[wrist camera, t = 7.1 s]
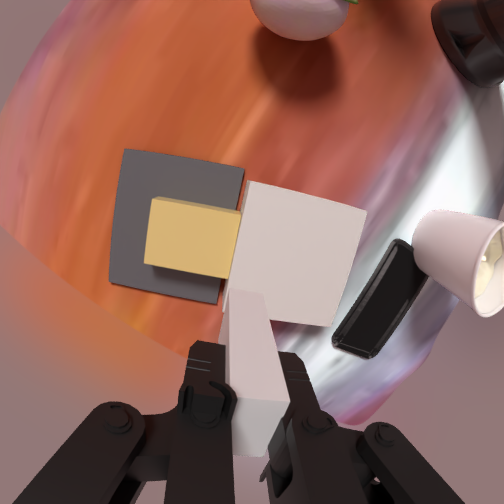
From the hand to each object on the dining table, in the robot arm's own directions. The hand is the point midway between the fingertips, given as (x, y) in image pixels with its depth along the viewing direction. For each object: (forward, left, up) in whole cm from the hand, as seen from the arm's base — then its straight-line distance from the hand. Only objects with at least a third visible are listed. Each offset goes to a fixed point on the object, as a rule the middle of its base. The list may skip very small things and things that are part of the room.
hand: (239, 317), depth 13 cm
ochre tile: (+4, 0, -16) cm, 16 cm away
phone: (-20, +4, -17) cm, 26 cm away
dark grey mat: (+6, 0, -16) cm, 17 cm away
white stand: (-6, 0, -16) cm, 17 cm away
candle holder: (-25, -5, -16) cm, 30 cm away
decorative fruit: (-1, -24, -16) cm, 29 cm away
